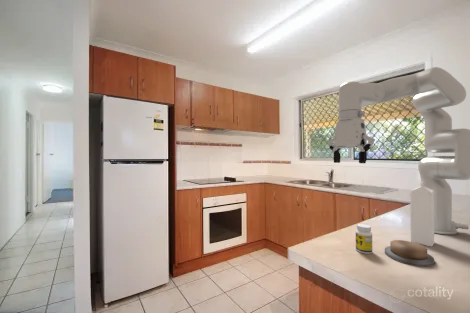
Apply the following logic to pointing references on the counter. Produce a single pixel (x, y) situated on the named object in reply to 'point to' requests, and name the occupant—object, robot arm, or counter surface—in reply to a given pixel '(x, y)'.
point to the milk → (422, 215)
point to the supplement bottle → (364, 239)
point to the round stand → (409, 253)
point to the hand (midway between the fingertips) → (349, 162)
